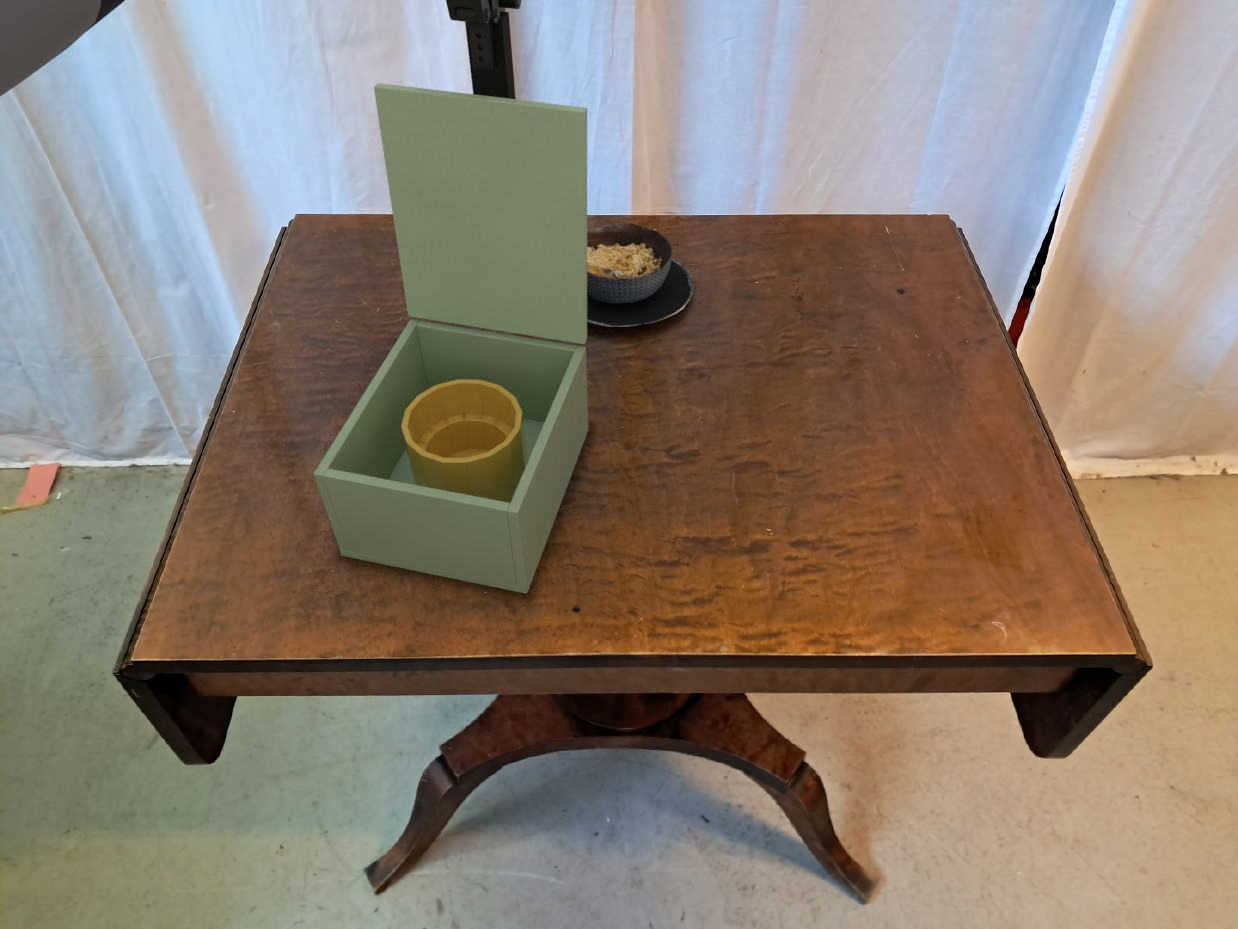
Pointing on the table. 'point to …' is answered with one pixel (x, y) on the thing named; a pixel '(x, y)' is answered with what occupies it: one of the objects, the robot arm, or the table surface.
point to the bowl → (466, 439)
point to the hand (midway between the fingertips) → (495, 104)
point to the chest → (442, 520)
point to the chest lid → (489, 209)
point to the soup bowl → (633, 277)
